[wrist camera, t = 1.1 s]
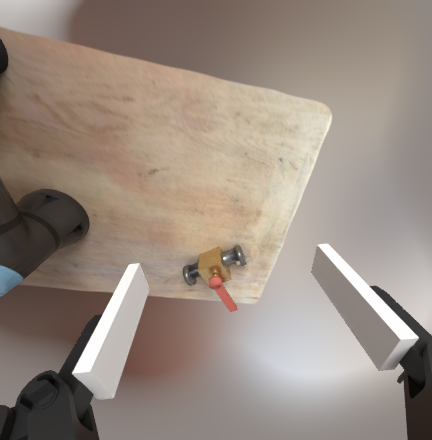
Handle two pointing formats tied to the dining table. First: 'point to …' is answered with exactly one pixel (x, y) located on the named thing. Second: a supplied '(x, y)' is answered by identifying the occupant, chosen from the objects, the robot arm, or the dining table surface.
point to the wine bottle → (3, 57)
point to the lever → (222, 292)
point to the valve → (215, 265)
